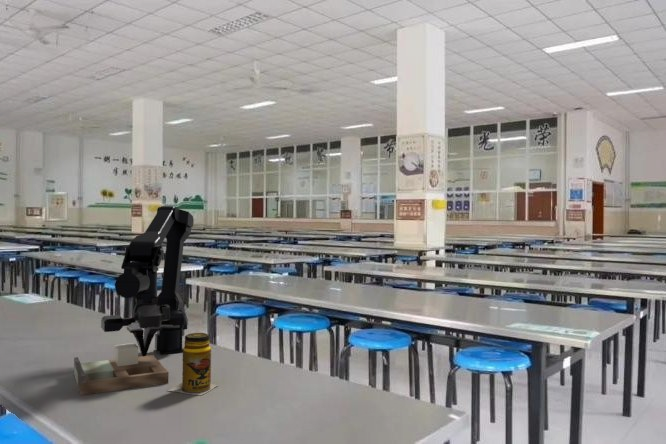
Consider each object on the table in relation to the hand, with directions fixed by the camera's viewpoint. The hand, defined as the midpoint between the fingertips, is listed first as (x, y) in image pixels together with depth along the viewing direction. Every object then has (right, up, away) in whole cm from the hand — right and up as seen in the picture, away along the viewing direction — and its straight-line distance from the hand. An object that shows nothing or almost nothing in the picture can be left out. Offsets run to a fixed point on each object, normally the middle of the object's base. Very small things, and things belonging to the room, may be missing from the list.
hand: (143, 356), depth 131 cm
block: (-3, -1, -2) cm, 4 cm away
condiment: (+15, -5, -12) cm, 20 cm away
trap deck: (-3, -4, -6) cm, 8 cm away
